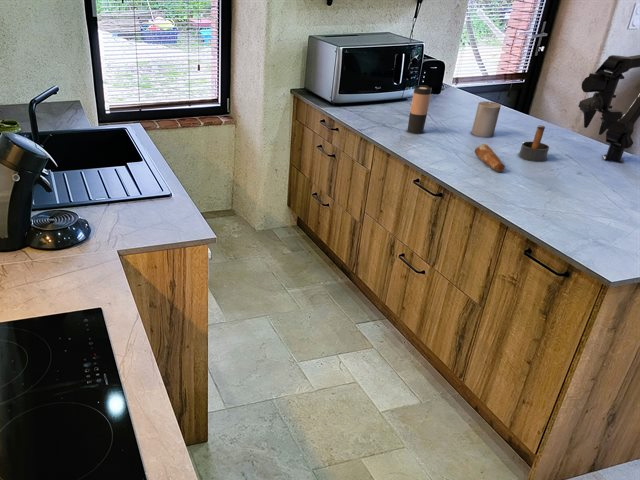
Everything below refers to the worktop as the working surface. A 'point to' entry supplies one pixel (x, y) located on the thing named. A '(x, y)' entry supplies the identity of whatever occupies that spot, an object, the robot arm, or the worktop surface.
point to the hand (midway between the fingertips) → (592, 131)
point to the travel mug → (419, 109)
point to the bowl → (533, 152)
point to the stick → (538, 137)
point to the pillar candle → (486, 119)
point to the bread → (489, 157)
